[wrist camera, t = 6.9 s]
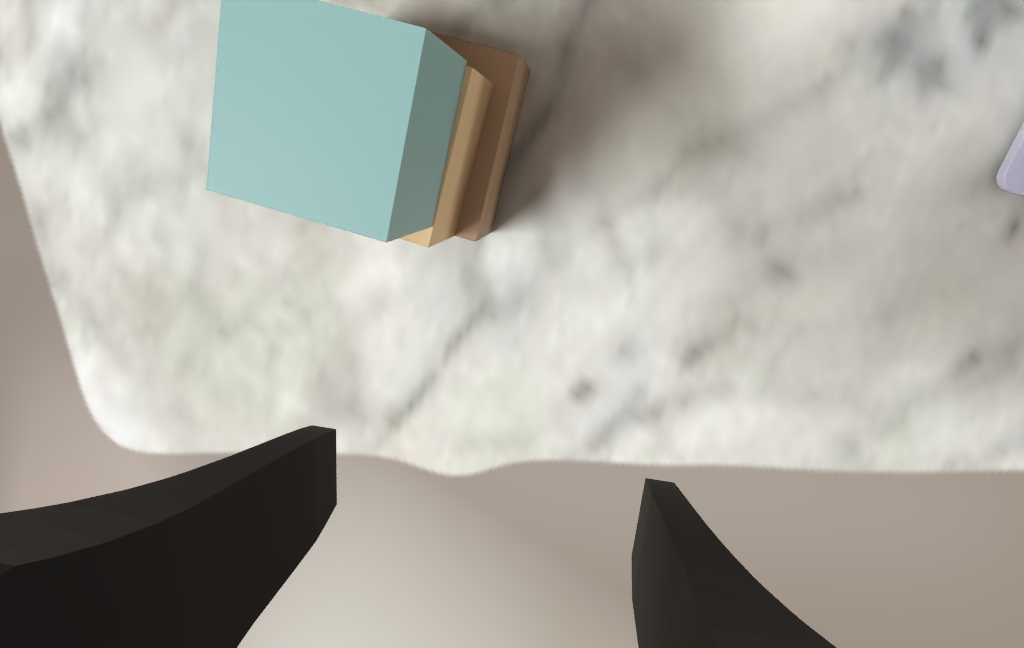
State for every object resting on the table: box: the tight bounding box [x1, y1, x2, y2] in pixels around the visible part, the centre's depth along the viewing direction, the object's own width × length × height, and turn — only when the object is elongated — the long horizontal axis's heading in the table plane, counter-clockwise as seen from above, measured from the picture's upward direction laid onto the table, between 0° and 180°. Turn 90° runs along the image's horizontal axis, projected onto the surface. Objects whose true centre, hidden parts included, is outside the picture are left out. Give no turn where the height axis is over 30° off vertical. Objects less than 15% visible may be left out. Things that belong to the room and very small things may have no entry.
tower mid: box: [400, 66, 494, 247], centre depth 17 cm, size 5×5×3 cm
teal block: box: [206, 0, 467, 242], centre depth 14 cm, size 4×4×4 cm
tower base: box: [432, 32, 530, 241], centre depth 19 cm, size 6×6×3 cm
